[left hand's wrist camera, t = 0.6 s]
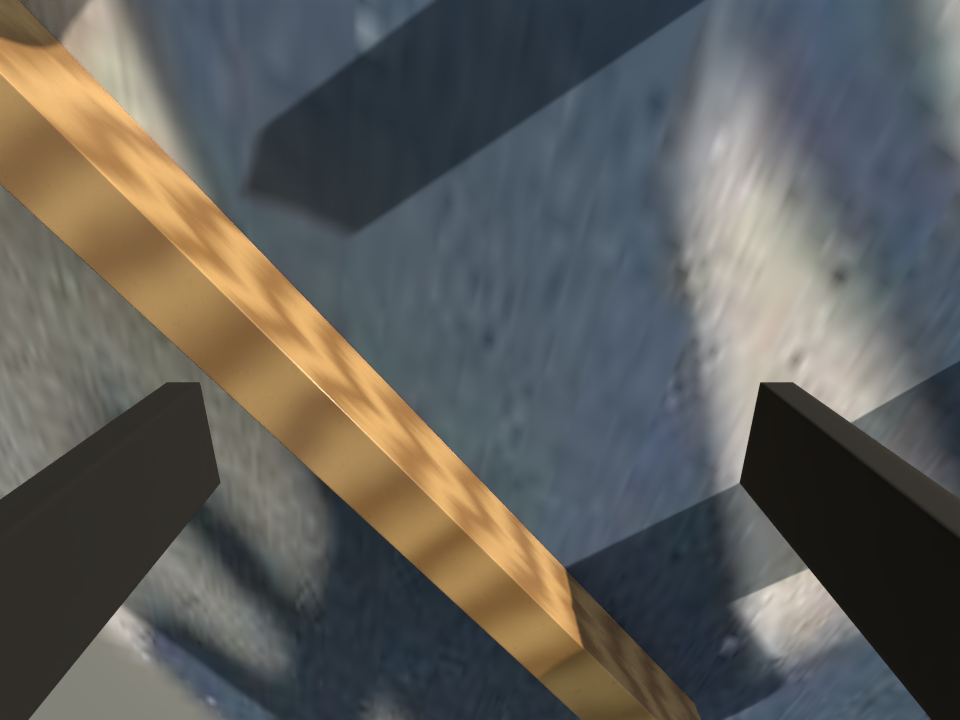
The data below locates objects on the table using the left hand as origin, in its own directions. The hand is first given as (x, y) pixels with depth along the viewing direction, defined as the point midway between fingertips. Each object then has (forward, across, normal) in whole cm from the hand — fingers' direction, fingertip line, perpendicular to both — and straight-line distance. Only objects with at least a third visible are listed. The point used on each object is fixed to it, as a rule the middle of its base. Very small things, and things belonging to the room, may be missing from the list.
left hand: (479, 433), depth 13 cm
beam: (+26, -6, -14) cm, 30 cm away
